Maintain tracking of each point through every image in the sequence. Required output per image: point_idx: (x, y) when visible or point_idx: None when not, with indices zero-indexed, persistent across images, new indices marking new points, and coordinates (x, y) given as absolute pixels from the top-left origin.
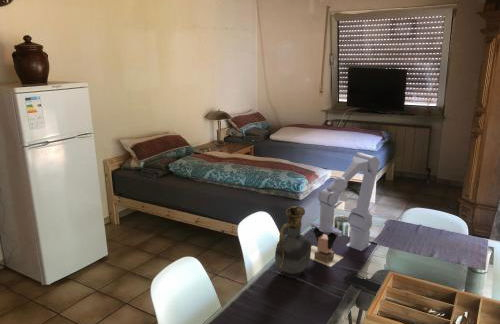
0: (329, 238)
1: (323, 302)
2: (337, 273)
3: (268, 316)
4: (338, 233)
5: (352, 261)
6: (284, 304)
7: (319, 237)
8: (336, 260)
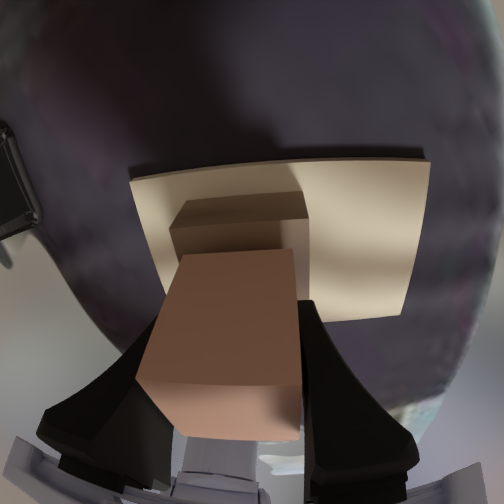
0: (85, 410)
1: None
2: (71, 166)
3: None
4: (15, 471)
5: (135, 321)
6: None
7: (283, 390)
8: (172, 275)
